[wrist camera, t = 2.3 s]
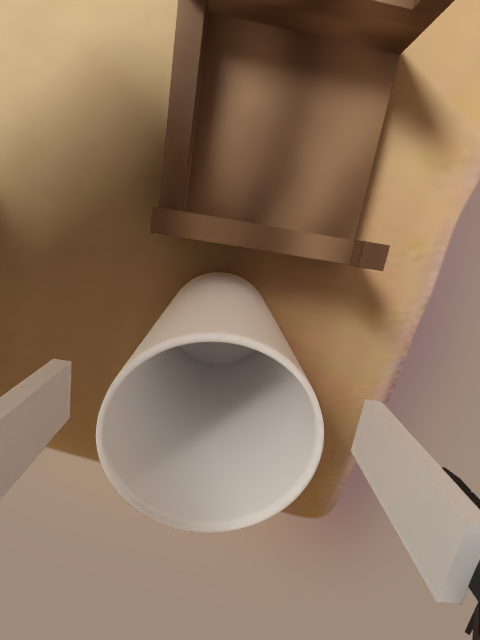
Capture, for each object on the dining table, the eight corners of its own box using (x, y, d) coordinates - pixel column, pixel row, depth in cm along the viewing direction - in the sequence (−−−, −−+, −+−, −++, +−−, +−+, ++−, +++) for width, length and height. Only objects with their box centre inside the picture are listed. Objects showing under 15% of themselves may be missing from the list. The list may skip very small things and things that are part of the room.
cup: (271, 362, 28) (326, 522, 13) (176, 371, 28) (118, 544, 13) (265, 267, 26) (323, 323, 11) (162, 276, 26) (70, 347, 10)
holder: (166, 231, 25) (144, 232, 18) (189, -7, 21) (173, -117, 14) (342, 260, 26) (382, 271, 19) (394, 40, 22) (468, -42, 16)
